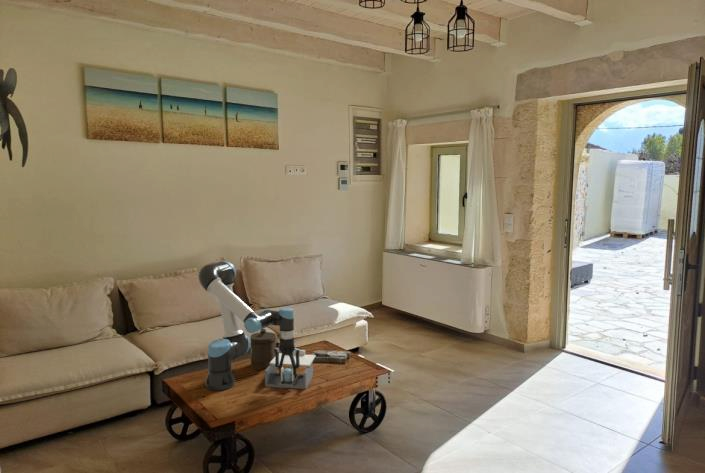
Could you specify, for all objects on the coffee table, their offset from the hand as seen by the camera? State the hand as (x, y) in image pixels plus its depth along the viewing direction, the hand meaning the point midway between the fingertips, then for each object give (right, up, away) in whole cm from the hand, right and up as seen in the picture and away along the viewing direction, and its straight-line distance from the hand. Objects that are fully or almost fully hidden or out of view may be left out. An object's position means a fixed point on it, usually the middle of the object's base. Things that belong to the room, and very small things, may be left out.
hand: (287, 380), depth 252 cm
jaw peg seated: (+1, -2, +8) cm, 8 cm away
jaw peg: (0, 0, 0) cm, 0 cm away
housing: (0, -3, +4) cm, 5 cm away
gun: (+20, 0, +40) cm, 45 cm away
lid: (+1, +8, +11) cm, 13 cm away
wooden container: (-18, 0, +30) cm, 35 cm away
